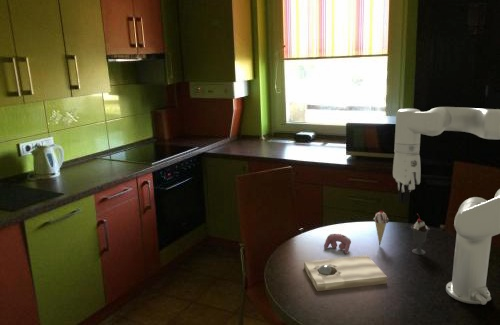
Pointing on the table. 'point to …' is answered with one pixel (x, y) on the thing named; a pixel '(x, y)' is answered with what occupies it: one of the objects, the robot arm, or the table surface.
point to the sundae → (419, 235)
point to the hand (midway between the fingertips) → (403, 202)
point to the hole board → (345, 273)
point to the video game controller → (340, 238)
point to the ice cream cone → (380, 224)
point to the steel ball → (325, 270)
